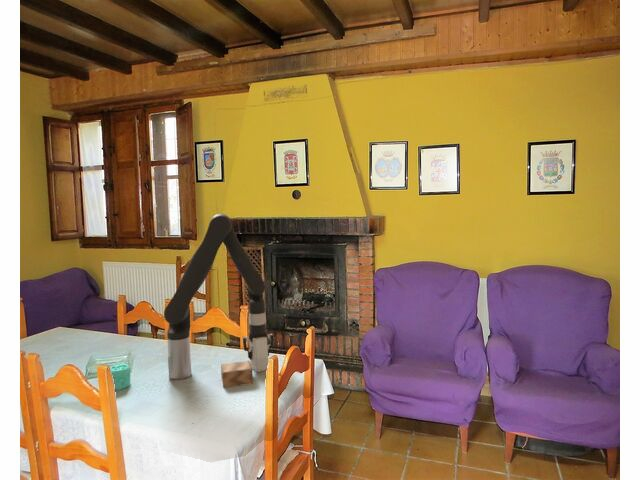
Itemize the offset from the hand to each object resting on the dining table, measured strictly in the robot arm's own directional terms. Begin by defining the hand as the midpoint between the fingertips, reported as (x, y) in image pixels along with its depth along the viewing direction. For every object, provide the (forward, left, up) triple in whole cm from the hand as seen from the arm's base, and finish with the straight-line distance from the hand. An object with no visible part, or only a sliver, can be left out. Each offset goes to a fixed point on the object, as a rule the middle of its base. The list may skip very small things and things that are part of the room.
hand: (258, 358), depth 190 cm
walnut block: (-11, -10, -5) cm, 16 cm away
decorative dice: (-58, +1, -5) cm, 58 cm away
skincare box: (0, 0, -5) cm, 5 cm away
